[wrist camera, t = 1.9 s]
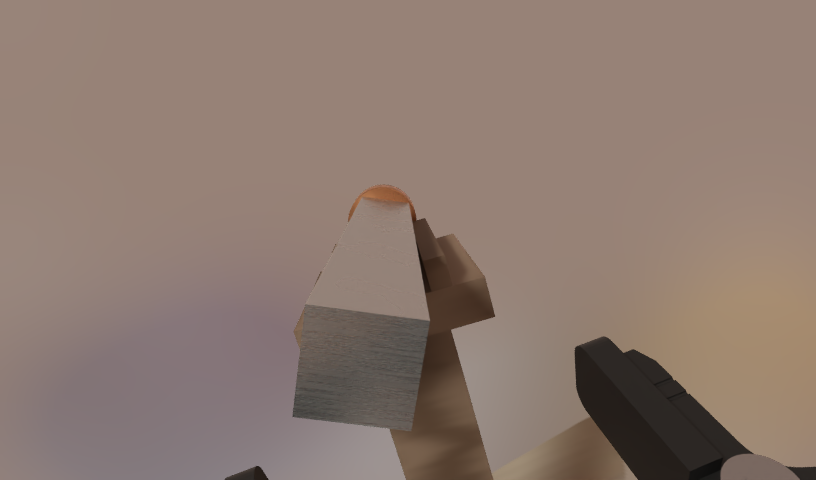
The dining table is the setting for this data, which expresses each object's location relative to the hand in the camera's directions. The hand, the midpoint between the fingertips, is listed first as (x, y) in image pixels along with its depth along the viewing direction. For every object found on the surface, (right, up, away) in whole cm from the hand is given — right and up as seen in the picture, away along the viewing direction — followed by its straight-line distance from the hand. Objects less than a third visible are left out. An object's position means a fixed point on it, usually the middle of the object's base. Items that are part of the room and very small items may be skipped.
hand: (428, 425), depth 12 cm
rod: (-2, +2, +12) cm, 12 cm away
